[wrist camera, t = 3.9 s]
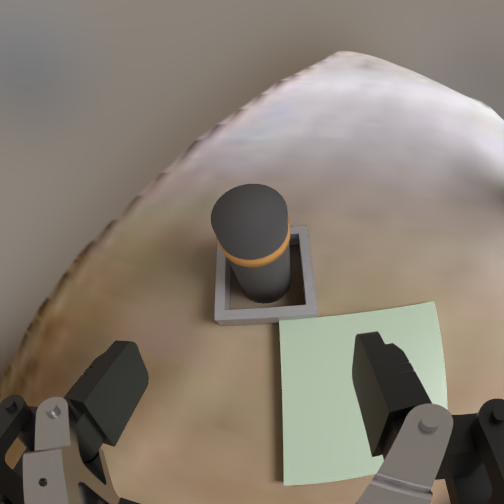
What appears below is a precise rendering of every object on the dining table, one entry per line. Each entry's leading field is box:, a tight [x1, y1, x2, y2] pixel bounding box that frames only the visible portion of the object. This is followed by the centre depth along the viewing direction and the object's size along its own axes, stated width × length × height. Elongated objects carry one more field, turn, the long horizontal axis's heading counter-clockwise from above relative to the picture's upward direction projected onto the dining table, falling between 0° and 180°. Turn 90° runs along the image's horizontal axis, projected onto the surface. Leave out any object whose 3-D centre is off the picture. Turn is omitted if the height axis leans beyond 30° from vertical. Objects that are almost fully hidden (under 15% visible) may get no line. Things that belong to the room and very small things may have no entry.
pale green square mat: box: [279, 301, 447, 485], centre depth 18 cm, size 14×14×1 cm
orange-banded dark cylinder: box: [211, 184, 291, 303], centre depth 20 cm, size 5×5×10 cm
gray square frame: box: [214, 225, 317, 326], centre depth 24 cm, size 8×8×2 cm
